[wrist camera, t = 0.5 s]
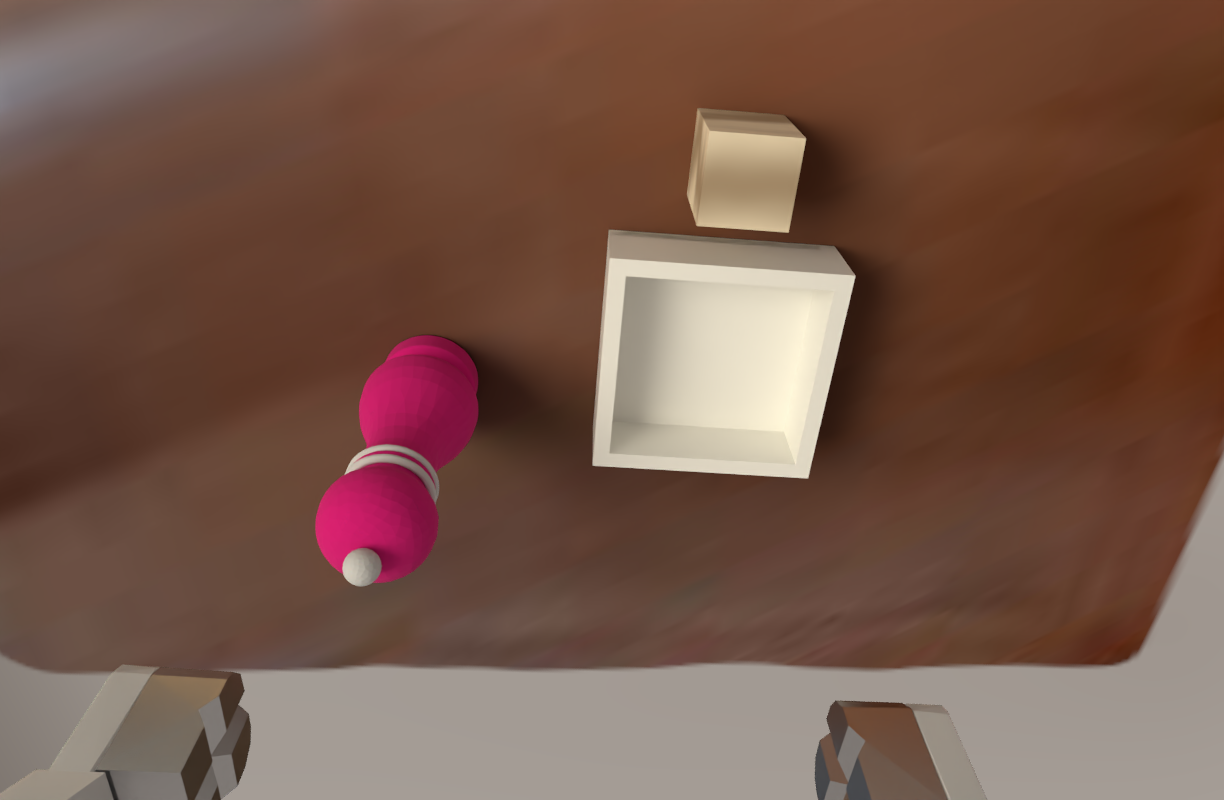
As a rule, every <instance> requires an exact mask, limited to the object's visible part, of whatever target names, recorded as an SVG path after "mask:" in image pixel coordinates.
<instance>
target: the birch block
mask: <svg viewBox="0 0 1224 800" xmlns="http://www.w3.org/2000/svg"><path fill="white" fill-rule="evenodd" d="M805 143H806V138H805V137H804V135H803V134H802V133H801V132H800V131H799V130H798V129H797V128H796V127H795V126H794V125H793V124H792V123H791V122H790V121H789V120H788V118H787V117H786V116H785V115H778V114H766V113H753V112H741V111H729V110H716V109H704V108H698V110H697V118H696V126H695V134H694V142H693V150H692V158H691V166H690V174H689V182H688V190H687V196H688V199H689V203H690V206H691V209H692V212H693V215H694V218H695V221H696V224H697V226H706V227H719V228H733V229H746V230H760V231H773V232H787V233H789V228H790V222H791V217H792V212H793V207H794V201H795V196H796V191H797V185H798V180H799V175H800V169H801V164H802V159H803V154H804V148H805Z"/></svg>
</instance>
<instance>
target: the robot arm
mask: <svg viewBox="0 0 1224 800" xmlns="http://www.w3.org/2000/svg"><path fill="white" fill-rule="evenodd" d="M243 693H244V686H243V682H242V678H241V674H239V673H235V672H224V671H211V670H197V669H184V668H171V667H152V666H136V665H121V666H120V667H119V668H118V669H116V670H115V671H114V672H113V673H112V674H110V676H109V677H108V679H107V680H106V682H105V684H104V685H103V687H102V688H101V690H100V691H99V693H98V694H97V696H96V697H95V699H94V700H93V702H92V704H91V705H90V707H89V708H88V710H87V711H86V713H85V714H84V716H83V717H82V719H81V720H80V722H79V723H78V725H77V727H76V728H75V730H74V731H73V733H72V734H71V736H70V737H69V739H68V740H67V742H66V743H65V745H64V746H63V748H62V750H61V751H60V753H59V754H58V756H57V757H56V759H55V760H54V762H53V763H52V765H51V766H50V768H49V769H48V770H45V769H44V770H43V769H36V770H35V771H33V772H32V773H30V774H29V775H27V776H26V777H24V778H23V779H21V780H20V781H18V782H17V783H15V784H14V785H12V786H11V787H9V788H8V789H6V790H5V791H3V792H2V793H0V800H221V799H222V798H223V797H225V796H226V795H227V794H228V793H229V792H231V791H232V790H233V789H235V788H236V787H237V786H238V784H239V781H240V779H241V776H242V774H243V771H244V769H245V766H246V762H247V757H248V752H249V748H250V742H251V741H250V740H251V724H250V718H249V714H248V713H247V712H246V711H245V710H244V709H243V708H242V707H240V706H239V705H238V704H239V702H240V700H241V698H242V695H243ZM826 719H827V723H828V726H829V730H830V733H829V734H828V735H826V736H825V737H824V738H822V739H821V740H820V742H819V746H818V749H817V753H816V757H815V784H816V791H817V797H818V800H987V798H986V796H985V794H984V791H983V789H982V787H981V785H980V782H979V780H978V778H977V776H976V774H975V771H974V769H973V767H972V765H971V762H970V760H969V758H968V756H967V754H966V751H965V749H964V747H963V745H962V742H961V740H960V738H959V736H958V733H957V731H956V729H955V727H954V725H953V722H952V720H951V718H950V716H949V713H948V711H947V710H946V709H945V708H943V707H942V706H941V705H922V704H903V703H888V702H860V701H835V702H834V703H833V704H832V705H831V706H830V709H829V713H828V715H827V718H826Z"/></svg>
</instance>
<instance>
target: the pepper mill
mask: <svg viewBox="0 0 1224 800" xmlns="http://www.w3.org/2000/svg"><path fill="white" fill-rule="evenodd" d="M477 389H478V373H477V369H476V366H475V364H474V362H473V361H472V359H471V358H470V356H469V355H468V354H467V353H466V351H465V350H464V349H462V348H461V347H459V346H458V345H457V344H455V343H454V342H452V341H450V340H447V339H445V338H442V337H437V336H429V335H424V336H416V337H412V338H409V339H407V340H405V341H403V342H401V343H400V344H398V345H397V346H396V347H395V348H394V349H393V350H392V351H391V352H390V354H389V356H388V357H387V359H386V361H385V363H384V364H382V365H381V366H379V367H378V368H377V369H376V370H375V371H374V372H373V373H372V374H371V376H370V377H369V379H368V380H367V382H366V384H365V386H364V389H363V393H362V396H361V400H360V403H359V417H360V427H361V430H362V433H363V436H364V439H365V441H366V443H367V447H366V449H365V450H363V451H361V452H360V453H358V454H357V455H356V456H355V457H354V458H353V459H352V460H351V462H350V464H349V465H348V468H347V470H346V473H345V474H344V475H343V476H342V477H340V478H339V479H338V480H337V481H336V482H334V483H333V484H332V485H331V486H330V487H329V489H328V490H327V492H326V493H325V495H324V497H323V498H322V500H321V502H320V505H319V508H318V512H317V516H316V537H317V541H318V544H319V547H320V549H321V551H322V553H323V555H324V556H325V558H326V559H327V560H328V561H329V563H330V564H331V565H332V566H333V567H334V568H335V569H337V570H338V571H339V572H341V573H342V574H344V576H345V578H346V580H347V581H348V582H350V583H351V584H353V585H356V586H367V585H369V584H371V583H383V582H390V581H393V580H396V579H399V578H402V577H404V576H406V575H408V574H409V573H411V572H413V571H414V570H415V569H416V568H417V567H419V566H420V565H421V564H422V563H423V562H424V560H425V559H426V558H427V556H428V555H429V553H430V551H431V550H432V547H433V545H434V542H435V540H436V538H437V531H438V519H439V517H438V513H437V509H436V500H437V497H438V494H439V481H438V477H437V474H436V472H437V471H438V470H439V469H440V468H441V467H443V466H444V465H446V464H447V463H449V462H450V461H452V460H453V459H454V458H455V457H456V456H457V455H458V454H459V453H460V452H461V451H462V450H463V449H464V447H465V446H466V445H467V443H468V442H469V440H470V438H471V436H472V434H473V432H474V429H475V427H476V423H477V420H478V401H477V397H476V393H477Z"/></svg>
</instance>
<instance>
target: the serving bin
mask: <svg viewBox="0 0 1224 800" xmlns="http://www.w3.org/2000/svg"><path fill="white" fill-rule="evenodd" d="M854 280H855V274H854V273H853V271H852V270H851V269H850V267H849V266H848V264H847V263H846V262H845V260H844V259H843V257H842V256H841V255H840V253H839V252H838V250H837V249H836V248H835V246H826V245H813V244H799V243H785V242H772V241H758V240H744V239H731V238H717V237H704V236H690V235H676V234H663V233H649V232H635V231H622V230H609V234H608V246H607V258H606V271H605V283H604V296H603V308H602V320H601V333H600V345H599V358H598V370H597V382H596V395H595V407H594V420H593V466H607V467H624V468H641V469H658V470H675V471H692V472H708V473H725V474H742V475H759V476H776V477H793V478H808V476H809V472H810V467H811V463H812V459H813V455H814V450H815V446H816V442H817V438H818V433H819V429H820V425H821V421H822V416H823V412H824V408H825V404H826V399H827V395H828V391H829V387H830V382H831V378H832V374H833V370H834V365H835V361H836V357H837V353H838V348H839V344H840V340H841V336H842V331H843V327H844V323H845V319H846V314H847V310H848V306H849V302H850V297H851V293H852V289H853V285H854Z"/></svg>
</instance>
